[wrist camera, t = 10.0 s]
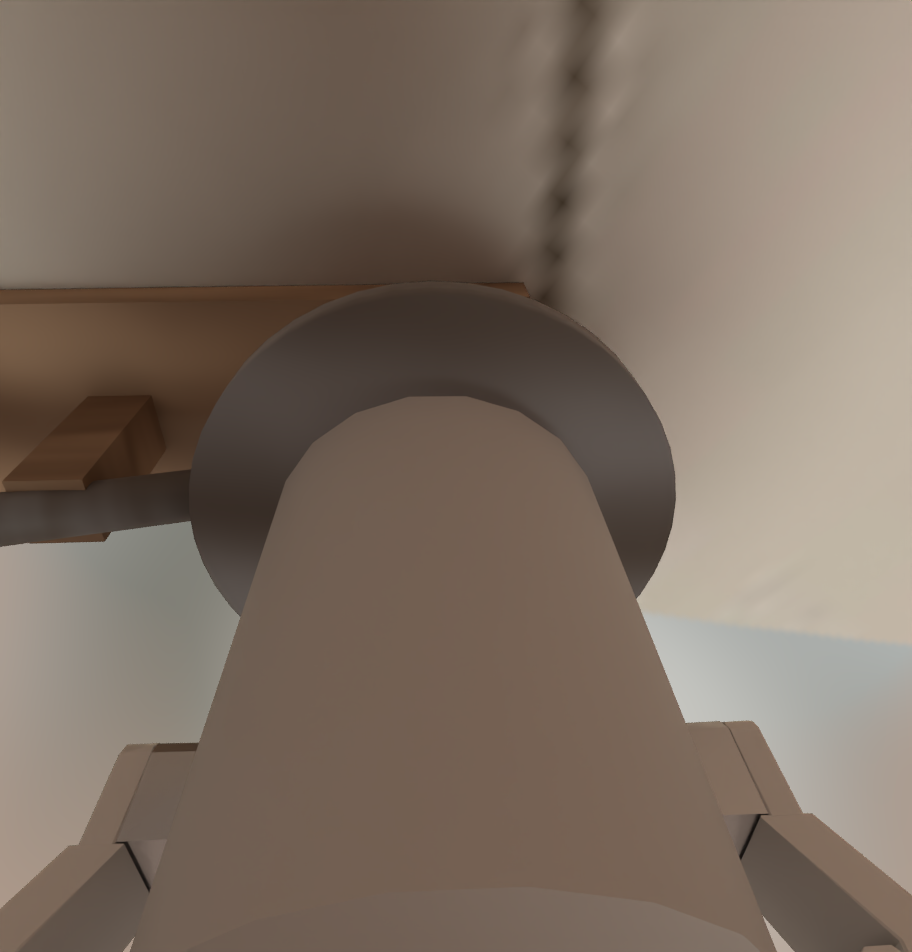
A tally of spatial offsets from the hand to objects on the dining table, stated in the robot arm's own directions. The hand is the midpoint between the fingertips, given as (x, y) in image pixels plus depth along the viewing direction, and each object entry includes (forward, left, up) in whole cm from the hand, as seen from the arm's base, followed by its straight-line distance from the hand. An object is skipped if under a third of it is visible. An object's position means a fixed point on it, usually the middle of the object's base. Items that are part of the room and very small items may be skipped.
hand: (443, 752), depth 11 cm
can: (0, 0, -6) cm, 6 cm away
